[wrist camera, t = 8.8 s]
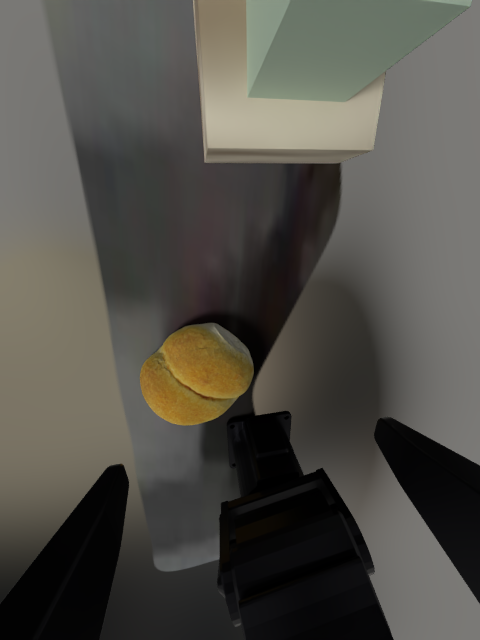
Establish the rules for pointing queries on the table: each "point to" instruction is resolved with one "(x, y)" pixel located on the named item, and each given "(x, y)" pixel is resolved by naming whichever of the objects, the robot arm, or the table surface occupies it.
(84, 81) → the table surface
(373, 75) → the green block
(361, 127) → the birch base
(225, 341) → the bread roll
